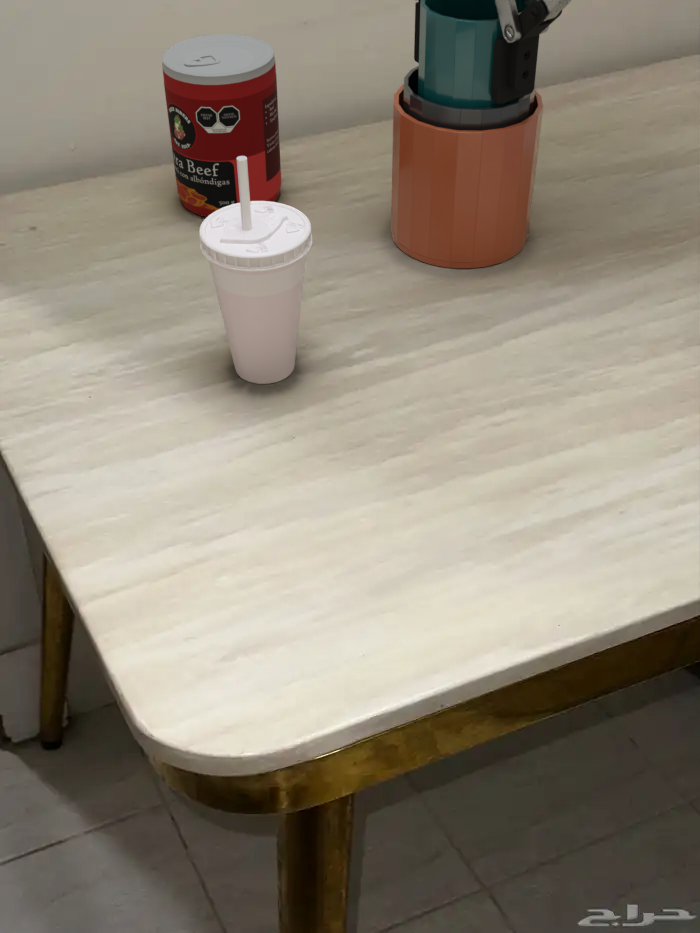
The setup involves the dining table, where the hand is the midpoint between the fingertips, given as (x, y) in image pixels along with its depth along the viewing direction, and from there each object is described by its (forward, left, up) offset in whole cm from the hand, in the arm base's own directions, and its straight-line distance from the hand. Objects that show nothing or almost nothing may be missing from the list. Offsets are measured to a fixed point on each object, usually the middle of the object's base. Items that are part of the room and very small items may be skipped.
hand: (472, 75), depth 73 cm
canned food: (+15, -10, -12) cm, 22 cm away
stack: (0, 0, -12) cm, 12 cm away
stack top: (0, 0, -12) cm, 12 cm away
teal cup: (0, 0, -4) cm, 4 cm away
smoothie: (+17, +12, -12) cm, 24 cm away
